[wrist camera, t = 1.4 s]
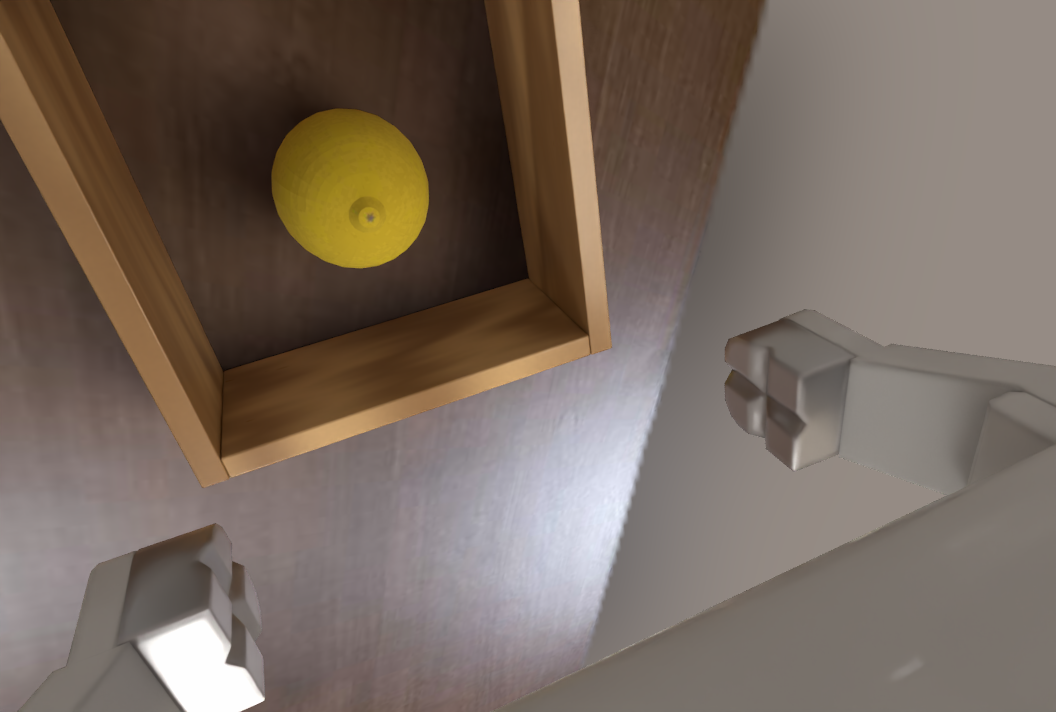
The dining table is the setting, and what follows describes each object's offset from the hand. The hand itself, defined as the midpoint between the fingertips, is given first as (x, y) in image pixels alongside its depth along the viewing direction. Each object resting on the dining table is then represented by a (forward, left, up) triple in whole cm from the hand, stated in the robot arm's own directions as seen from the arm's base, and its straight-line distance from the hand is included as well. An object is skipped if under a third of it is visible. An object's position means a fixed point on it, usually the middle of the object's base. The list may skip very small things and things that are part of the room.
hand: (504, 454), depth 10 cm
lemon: (0, 0, -22) cm, 22 cm away
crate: (0, 0, -21) cm, 21 cm away
